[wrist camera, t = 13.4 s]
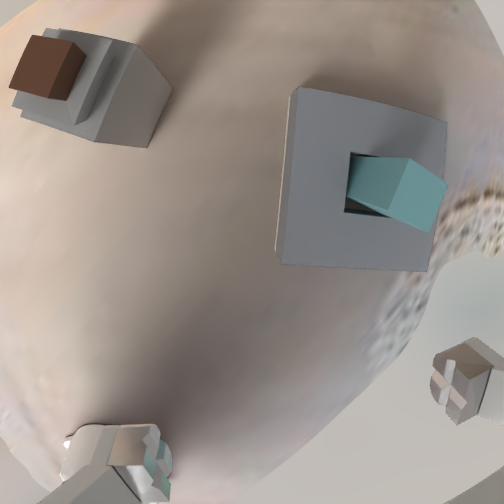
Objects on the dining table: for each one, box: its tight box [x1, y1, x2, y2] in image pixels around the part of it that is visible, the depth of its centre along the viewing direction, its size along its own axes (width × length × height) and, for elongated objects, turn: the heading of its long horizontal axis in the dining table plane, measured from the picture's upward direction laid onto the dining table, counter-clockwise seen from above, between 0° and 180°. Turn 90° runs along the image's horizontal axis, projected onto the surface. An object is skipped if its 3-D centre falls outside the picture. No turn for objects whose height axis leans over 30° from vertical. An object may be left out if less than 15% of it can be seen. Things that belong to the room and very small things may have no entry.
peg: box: [346, 157, 448, 233], centre depth 26 cm, size 4×4×12 cm
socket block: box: [274, 87, 447, 272], centre depth 30 cm, size 16×16×5 cm
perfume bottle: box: [9, 28, 173, 148], centre depth 20 cm, size 7×7×18 cm
